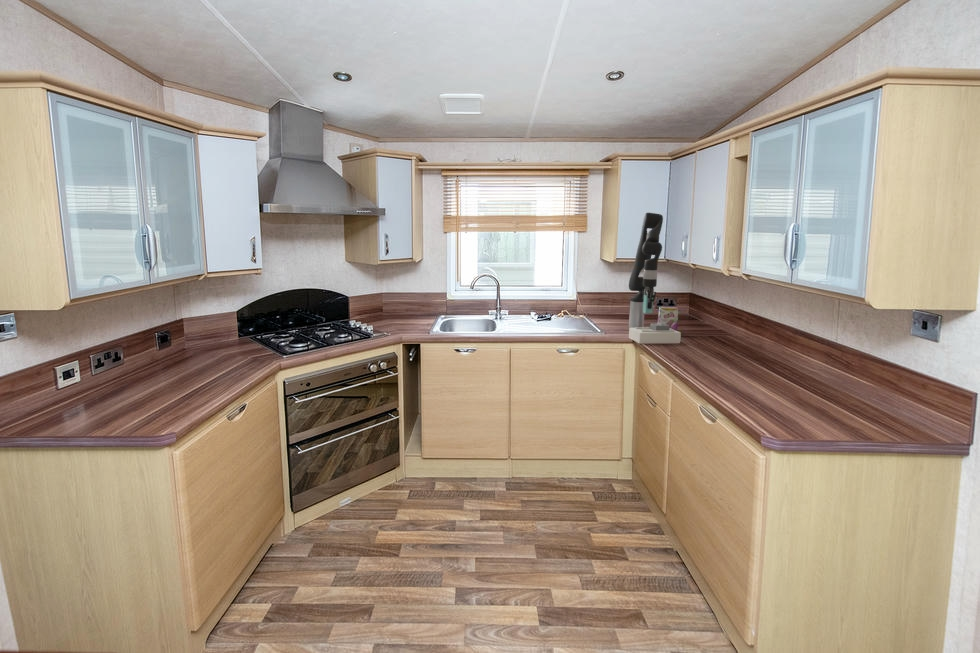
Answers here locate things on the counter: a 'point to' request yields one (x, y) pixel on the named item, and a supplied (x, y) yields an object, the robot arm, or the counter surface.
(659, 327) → the shutter
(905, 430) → the counter surface
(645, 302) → the plug
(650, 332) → the white tray
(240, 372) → the counter surface
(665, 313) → the candy bar box
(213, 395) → the counter surface
